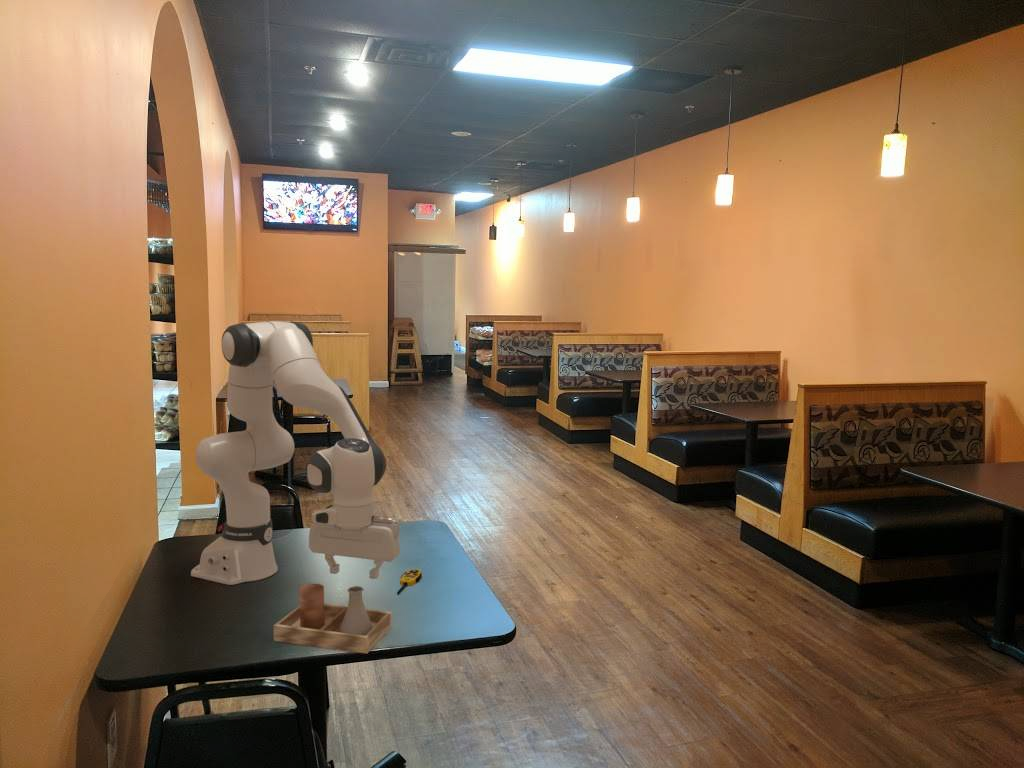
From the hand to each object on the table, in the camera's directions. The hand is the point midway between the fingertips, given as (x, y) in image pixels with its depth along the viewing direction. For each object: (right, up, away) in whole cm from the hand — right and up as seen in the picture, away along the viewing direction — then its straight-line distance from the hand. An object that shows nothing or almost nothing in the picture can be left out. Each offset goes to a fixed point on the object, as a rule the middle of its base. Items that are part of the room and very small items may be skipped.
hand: (354, 575), depth 158 cm
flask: (0, -13, +1) cm, 13 cm away
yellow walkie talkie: (+7, -11, +31) cm, 34 cm away
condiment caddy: (-5, -14, +3) cm, 15 cm away
